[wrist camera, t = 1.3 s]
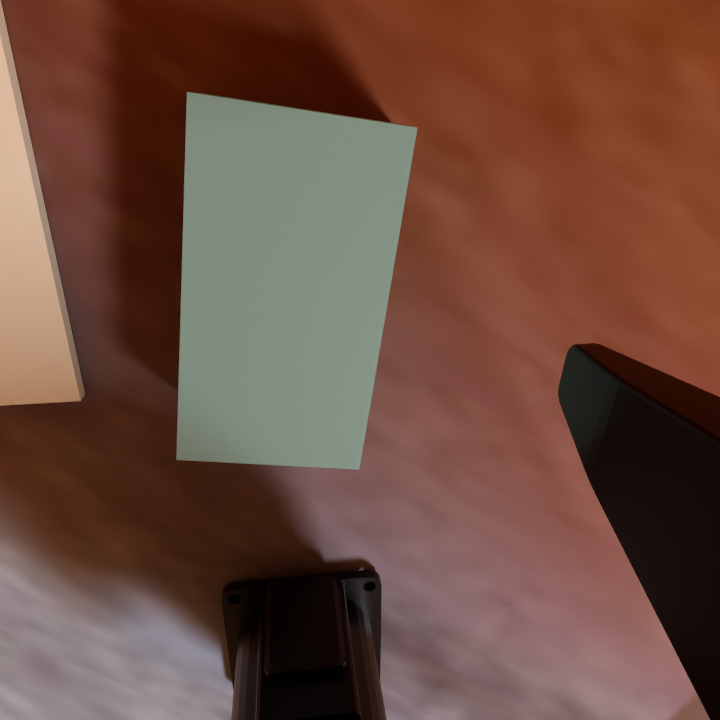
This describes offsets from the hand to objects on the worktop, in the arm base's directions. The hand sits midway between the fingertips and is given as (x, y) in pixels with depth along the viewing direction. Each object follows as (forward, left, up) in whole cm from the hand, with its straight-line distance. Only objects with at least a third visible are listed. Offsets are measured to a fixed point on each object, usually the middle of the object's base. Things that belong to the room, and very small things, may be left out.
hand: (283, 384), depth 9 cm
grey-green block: (-1, 0, -11) cm, 11 cm away
